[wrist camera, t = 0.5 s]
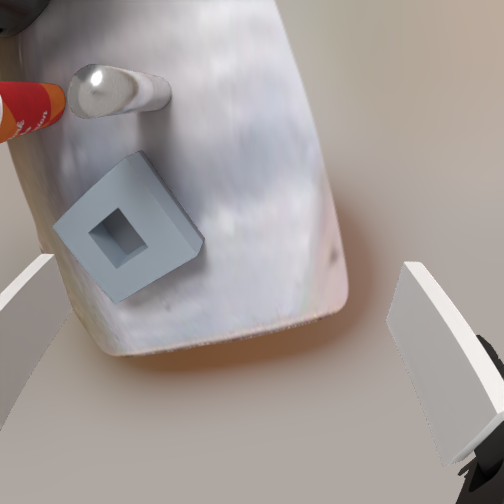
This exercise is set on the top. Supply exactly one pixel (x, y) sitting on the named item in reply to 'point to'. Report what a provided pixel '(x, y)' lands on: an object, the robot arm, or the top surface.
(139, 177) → the socket block
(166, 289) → the top surface
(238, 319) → the top surface
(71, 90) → the pin
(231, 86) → the top surface
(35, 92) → the paper cup
